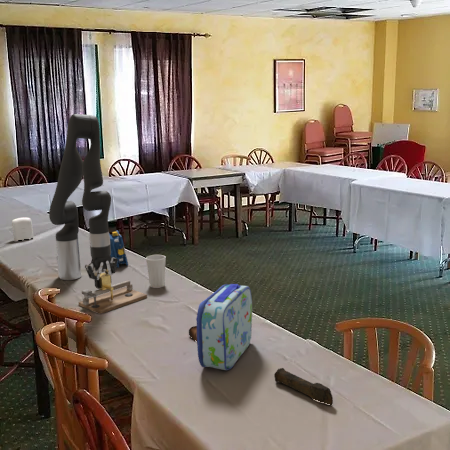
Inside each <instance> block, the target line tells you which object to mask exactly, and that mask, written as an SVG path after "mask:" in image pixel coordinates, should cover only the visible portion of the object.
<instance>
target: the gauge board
mask: <svg viewBox="0 0 450 450" xmlns="http://www.w3.org/2000/svg"><path fill="white" fill-rule="evenodd" d="M111 287H113V300H111V292H110V290H109V289H105V290H100V289H96V290H93V291H92V290H90V289H88V288H87V289H84V290H81V295H83V298H82V300H81V301H78V306H80V307H82V308H84V309H87V310H89V311H92V312H94V313H97V314H98V315H102V314H105V313H108V312H110V311H113V310H117V309H118V308H121V307H125V306H127V305H130V304H133V303H136V302H139V301H142V300H145V299H147V298H148V294H147V293H143V292H141V291H137V290H135V289H133V288H134V287H133V284H132V283H131V280H129V279H128V280H124V281H122V282H118V283H115V284H111Z"/></svg>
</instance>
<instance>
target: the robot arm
mask: <svg viewBox="0 0 450 450" xmlns="http://www.w3.org/2000/svg"><path fill="white" fill-rule="evenodd" d="M100 131H101V130H100V122H99V119H98V117H97V116H95V115H92V114H79V113H74V114H71V116H70V118H69V121H68V124H67V130H66V139H65V146H64V153H63V156H62V160H61V163H60V164H61V165H60V169H59V171H58V178H57V183H56V187H55V190H54V194H53V197H52V200H51V203H50V206H49V210H48V211H49V212H48V216H49V220H50V222H51V224H53V225H54V226H61V225H63V227H62V228H61V229H60V230H58V231H57V232H55V242H56V243H55V245H56V253H57V255H56V261H57V272H58V277H59V279H60V280H63V281H72V280H73V281H74V280H77V279H79V278H81V277H82V269H81V267H82V266H81V257H80V255H81V254H80V244H79V231H80V229H79V211H78V207H77V204H76V203H75V202H74V201H72V200H68V199H69V198H70V196H71V195H72V194H73V193H74V192H75V191H76V190H77V189H78V187H79V186H80V185H81V182H82V180H83V194H82V198H81V199H82V200H81V203H82V204H81V206H82V208H83V209H84V210H85V211H87V212H94V211H100V213H99V214H97V215H94V216H90V218H89V219H88V231H89V239H88V240H89V249H90V256H91V260H90V261H91V262H89V263H88V264H85V265H84V268H85V271H86V274H87V276H88V277H89V279H91V280H94V281H93V282H94V288H95V289H96V290H99V289H101V284H100V274H101V273H103V272H102V271H104V273H105V274H108V275H110V277H111V278H112V275H113V274H116V270H117V261H118V259H117V258H114V257H112V258H111V256H110V255H111V247H110V236H109V233H110V232H109V214H110V209H111V205H112V196H111V194H110V193H109V192H108V191H107V190H97V191H93V190H95V189H98V188H100V187H102V186H103V184H104V178H103V172H102V165H101V137H100V135H101V132H100ZM78 139H83V140H89V141H90V146H89V149H88V152H87V154H86V155H85V157H84V159H82V156H81V155H80V153H79V151H78V147H77V141H78ZM110 262H111V263H110ZM111 284H112V280H111Z"/></svg>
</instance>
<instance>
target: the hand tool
mask: <svg viewBox="0 0 450 450" xmlns="http://www.w3.org/2000/svg"><path fill="white" fill-rule="evenodd" d="M273 375H274V376H273V377H274V381H275V382H276V383H279V384H280V385H281V384H282V385H285V386H288V387H289V388H292V389H293V390H295V391H298V392H300V393H302V394H304V395H306V396H308V397H310V398H311V399H312V398H313V399H315V400H318V401H320V402H324V403H327V404H330V405H332V404H334V398H333V394H332V390H331V389H330V388H329V387H328V386H325V385H324V384H322V383H320V382H314V383H313V382H311V381H308V380H306V379H305V378H302V377H299V376H297V375H296V374H294V373H291V372H289V371H287V370H286V369H285V368H284V367H281V368H278V369H277V370H276V371H275V372H274V374H273ZM332 406H333V405H332Z"/></svg>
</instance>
